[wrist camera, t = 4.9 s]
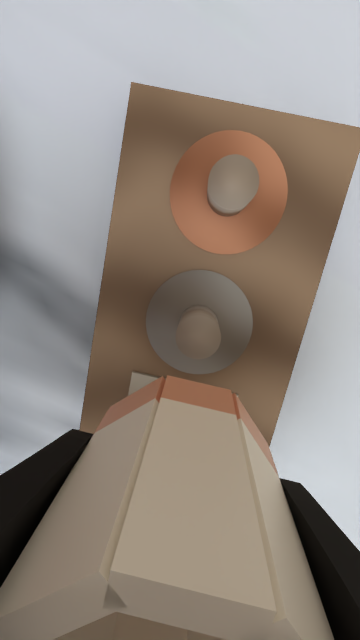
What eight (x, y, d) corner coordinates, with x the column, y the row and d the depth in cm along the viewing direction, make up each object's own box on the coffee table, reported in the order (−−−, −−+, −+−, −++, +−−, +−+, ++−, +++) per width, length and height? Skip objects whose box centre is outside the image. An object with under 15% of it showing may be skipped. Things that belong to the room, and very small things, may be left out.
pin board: (247, 489, 20) (259, 555, 16) (83, 451, 20) (50, 506, 16) (350, 140, 16) (409, 96, 11) (137, 97, 16) (113, 38, 11)
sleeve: (239, 538, 11) (284, 893, 5) (91, 501, 11) (-44, 803, 5) (282, 401, 9) (413, 645, 4) (116, 363, 10) (-21, 537, 4)
